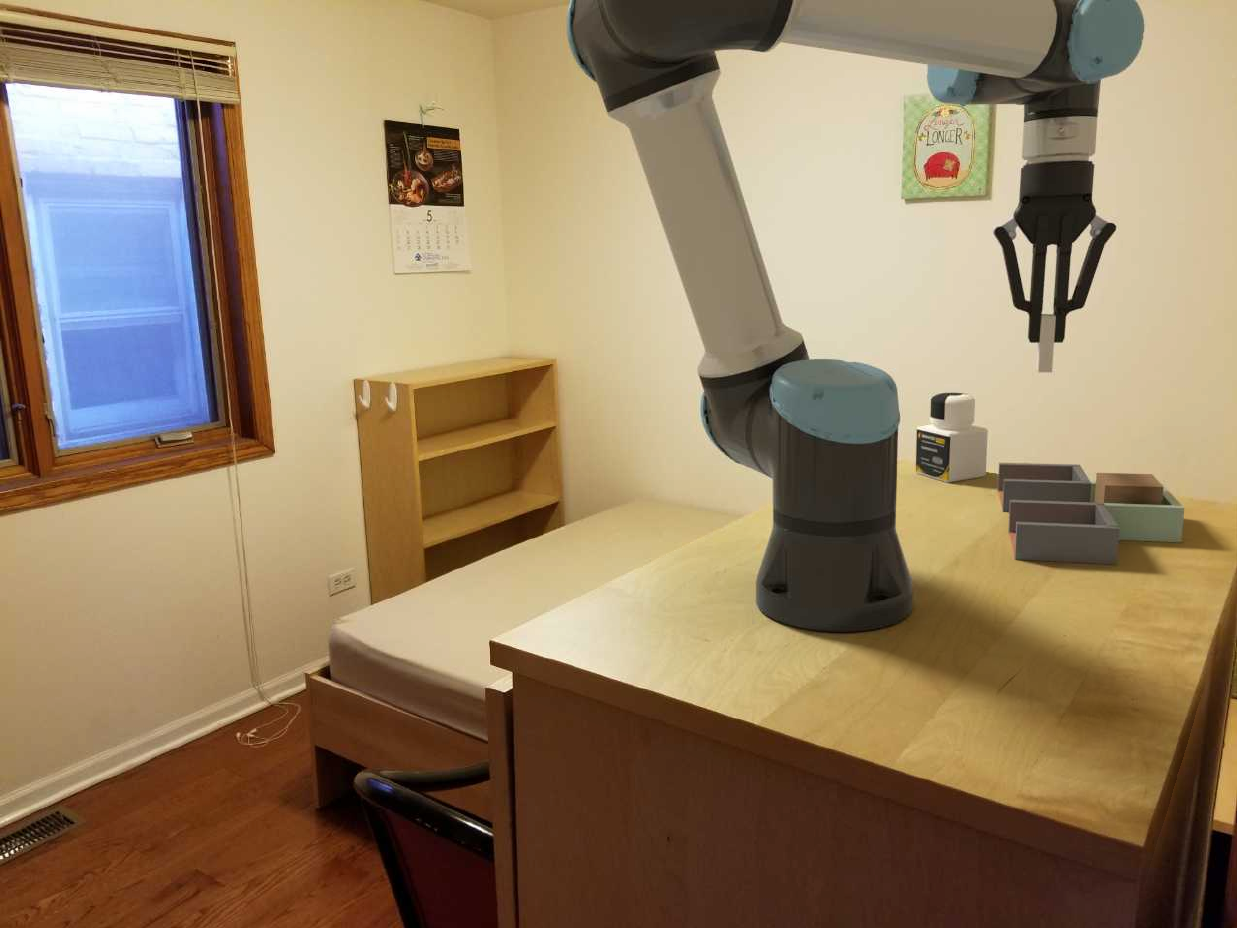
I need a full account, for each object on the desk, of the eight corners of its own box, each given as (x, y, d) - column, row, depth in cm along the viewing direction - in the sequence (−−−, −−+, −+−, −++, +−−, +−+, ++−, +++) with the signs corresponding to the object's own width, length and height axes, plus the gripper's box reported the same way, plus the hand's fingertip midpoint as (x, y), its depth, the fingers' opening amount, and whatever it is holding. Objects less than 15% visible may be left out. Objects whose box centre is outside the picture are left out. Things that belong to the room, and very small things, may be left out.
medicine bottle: (914, 473, 144) (916, 393, 142) (952, 467, 147) (955, 388, 144) (948, 483, 138) (950, 400, 135) (986, 476, 141) (990, 394, 138)
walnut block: (1101, 535, 113) (1105, 485, 112) (1093, 520, 119) (1096, 472, 117) (1159, 537, 111) (1163, 486, 110) (1148, 522, 117) (1152, 474, 115)
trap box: (1015, 559, 106) (1017, 524, 105) (997, 491, 133) (999, 462, 132) (1202, 569, 100) (1205, 532, 100) (1144, 495, 127) (1147, 466, 126)
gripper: (997, 162, 107) (986, 374, 112) (1128, 155, 103) (1110, 375, 108) (993, 166, 114) (983, 366, 119) (1116, 160, 110) (1099, 367, 115)
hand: (1043, 370), depth 114 cm, fingers closed
